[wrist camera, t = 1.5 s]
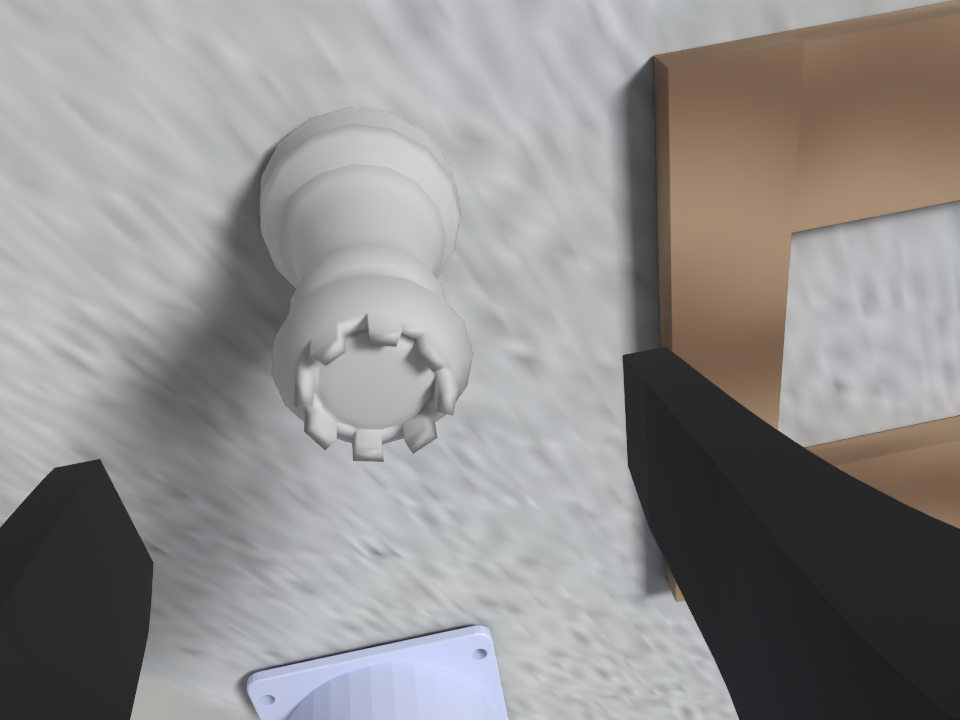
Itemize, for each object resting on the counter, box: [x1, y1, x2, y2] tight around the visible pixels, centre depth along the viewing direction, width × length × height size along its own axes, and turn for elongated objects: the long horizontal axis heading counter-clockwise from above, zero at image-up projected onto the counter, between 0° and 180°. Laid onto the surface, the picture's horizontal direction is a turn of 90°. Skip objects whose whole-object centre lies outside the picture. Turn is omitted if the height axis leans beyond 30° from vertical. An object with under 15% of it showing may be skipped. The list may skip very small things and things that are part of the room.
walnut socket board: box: [654, 0, 960, 602], centre depth 24 cm, size 17×14×1 cm
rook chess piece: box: [260, 107, 473, 462], centre depth 17 cm, size 4×4×8 cm
